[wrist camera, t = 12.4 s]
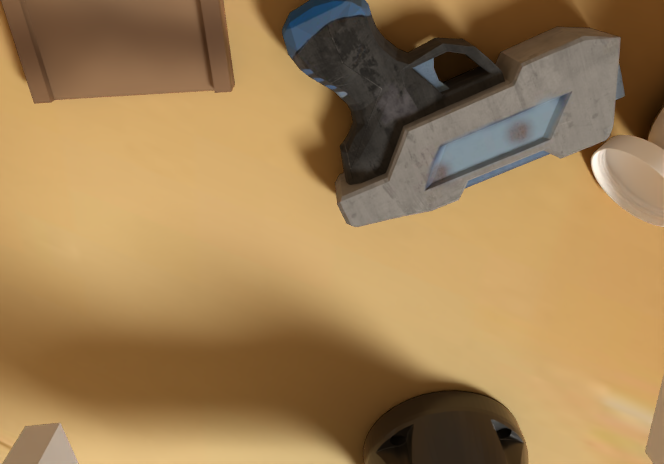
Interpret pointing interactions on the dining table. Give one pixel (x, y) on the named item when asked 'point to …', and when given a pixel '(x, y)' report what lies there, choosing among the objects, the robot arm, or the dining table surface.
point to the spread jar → (634, 172)
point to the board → (120, 47)
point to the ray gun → (449, 106)
